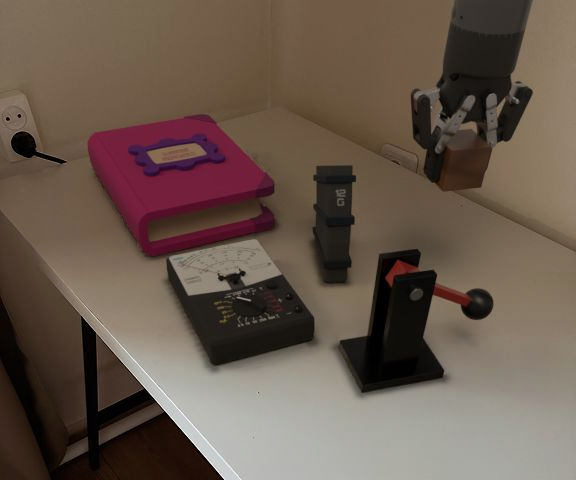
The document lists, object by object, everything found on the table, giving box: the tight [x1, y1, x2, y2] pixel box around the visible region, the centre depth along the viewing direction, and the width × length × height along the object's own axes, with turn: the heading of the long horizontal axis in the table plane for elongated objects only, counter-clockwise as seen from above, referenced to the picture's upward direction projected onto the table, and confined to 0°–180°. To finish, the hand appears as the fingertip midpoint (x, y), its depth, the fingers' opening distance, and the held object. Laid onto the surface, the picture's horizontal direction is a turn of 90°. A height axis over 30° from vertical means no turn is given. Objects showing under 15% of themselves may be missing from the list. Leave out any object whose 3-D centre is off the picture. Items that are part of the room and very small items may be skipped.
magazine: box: [311, 164, 357, 284], centre depth 86 cm, size 4×13×15 cm, turn 6°
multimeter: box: [166, 238, 316, 365], centre depth 80 cm, size 13×19×5 cm
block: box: [434, 128, 492, 193], centre depth 75 cm, size 5×5×5 cm
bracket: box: [338, 248, 445, 394], centre depth 70 cm, size 10×8×14 cm
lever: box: [385, 260, 495, 321], centre depth 70 cm, size 14×4×4 cm, turn 105°
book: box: [86, 113, 276, 257], centre depth 99 cm, size 21×28×8 cm
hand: (453, 176), depth 76 cm, fingers closed on block, 5 cm apart
